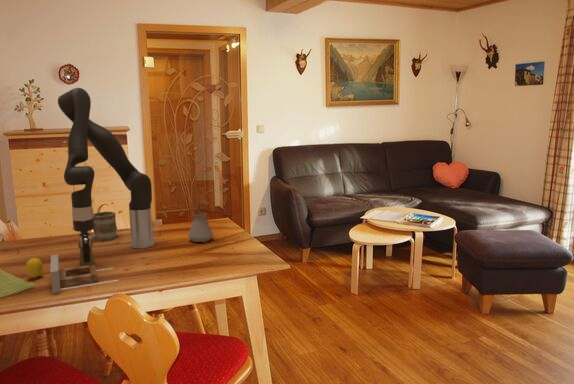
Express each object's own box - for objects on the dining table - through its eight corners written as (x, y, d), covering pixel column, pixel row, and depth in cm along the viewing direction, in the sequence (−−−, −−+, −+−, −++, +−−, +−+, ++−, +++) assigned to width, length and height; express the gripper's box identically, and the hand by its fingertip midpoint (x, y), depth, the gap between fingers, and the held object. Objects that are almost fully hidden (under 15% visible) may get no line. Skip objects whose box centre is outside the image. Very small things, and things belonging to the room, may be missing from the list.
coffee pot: (213, 243, 216) (212, 211, 214) (188, 244, 214) (186, 212, 211) (211, 231, 237) (210, 201, 234) (188, 232, 235) (186, 203, 232)
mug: (108, 234, 232) (107, 210, 230) (122, 237, 226) (120, 213, 224) (79, 241, 220) (76, 216, 218) (92, 245, 214) (90, 219, 212)
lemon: (31, 275, 176) (28, 255, 175) (46, 275, 177) (44, 254, 175) (24, 281, 171) (21, 260, 170) (40, 280, 171) (37, 259, 170)
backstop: (113, 267, 185) (111, 247, 184) (119, 284, 168) (117, 262, 166) (53, 275, 176) (50, 255, 175) (52, 294, 159) (50, 272, 157)
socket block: (95, 272, 179) (94, 264, 178) (97, 282, 168) (97, 274, 168) (60, 277, 174) (59, 269, 173) (60, 288, 163) (59, 280, 163)
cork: (89, 269, 183) (87, 242, 180) (75, 268, 184) (73, 241, 182) (98, 264, 188) (96, 238, 186) (85, 263, 190) (83, 237, 188)
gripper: (71, 214, 187) (75, 255, 190) (73, 222, 174) (77, 266, 178) (92, 212, 190) (95, 253, 193) (94, 220, 178) (98, 263, 181)
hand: (86, 259), depth 185 cm, fingers open, 5 cm apart
